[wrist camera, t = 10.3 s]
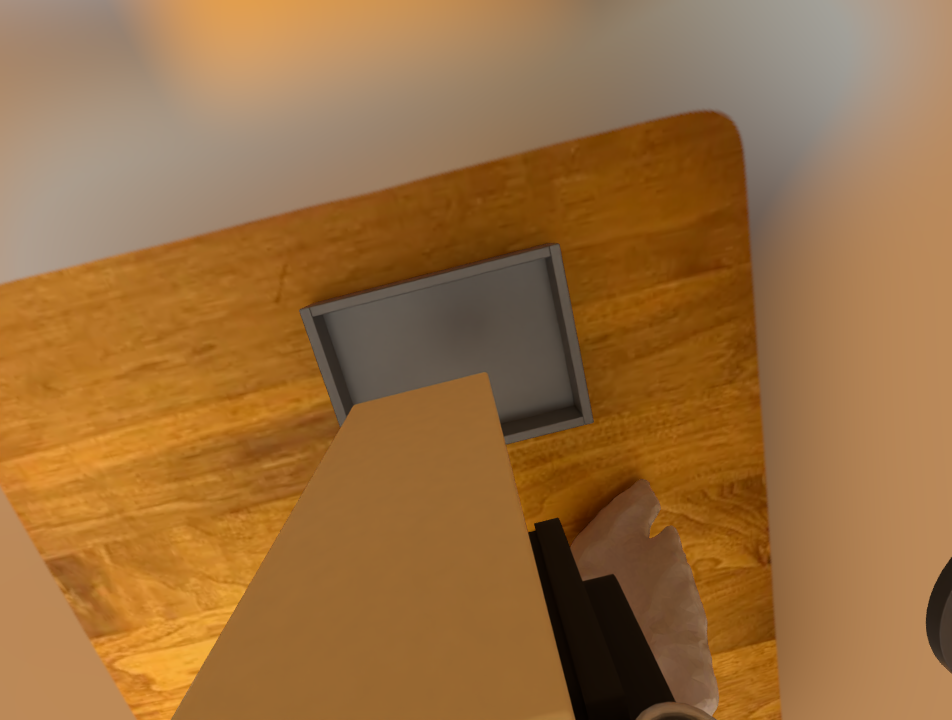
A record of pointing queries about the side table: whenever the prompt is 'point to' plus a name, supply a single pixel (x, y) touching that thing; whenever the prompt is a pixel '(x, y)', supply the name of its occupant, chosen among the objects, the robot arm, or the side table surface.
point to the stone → (653, 589)
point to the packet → (396, 582)
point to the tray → (461, 340)
